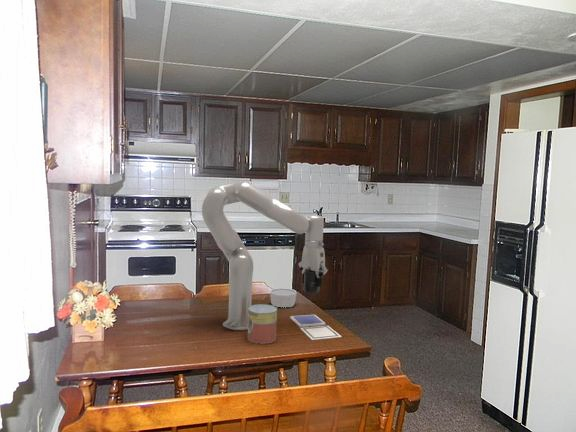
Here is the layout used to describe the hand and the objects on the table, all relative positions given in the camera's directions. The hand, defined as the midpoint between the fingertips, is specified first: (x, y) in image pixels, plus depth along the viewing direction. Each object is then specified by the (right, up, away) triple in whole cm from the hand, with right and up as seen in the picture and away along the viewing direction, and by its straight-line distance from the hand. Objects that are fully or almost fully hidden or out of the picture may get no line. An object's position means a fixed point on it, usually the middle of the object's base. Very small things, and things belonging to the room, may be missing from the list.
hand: (311, 284), depth 187 cm
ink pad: (-2, -17, +4) cm, 18 cm away
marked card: (+3, -19, -9) cm, 21 cm away
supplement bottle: (0, -3, 0) cm, 3 cm away
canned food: (-21, -19, -17) cm, 33 cm away
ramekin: (-13, -15, +27) cm, 34 cm away
